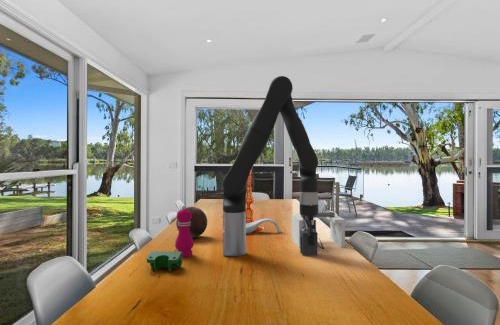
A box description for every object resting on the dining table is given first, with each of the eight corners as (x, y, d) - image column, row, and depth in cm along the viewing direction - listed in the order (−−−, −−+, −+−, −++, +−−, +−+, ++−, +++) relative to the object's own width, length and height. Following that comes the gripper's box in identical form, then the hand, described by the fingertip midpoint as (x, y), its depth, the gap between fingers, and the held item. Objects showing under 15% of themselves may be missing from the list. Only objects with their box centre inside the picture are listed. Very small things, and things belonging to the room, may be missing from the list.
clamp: (153, 282, 135) (140, 261, 133) (158, 273, 141) (146, 252, 139) (183, 271, 133) (171, 249, 131) (187, 262, 139) (176, 241, 137)
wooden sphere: (211, 235, 195) (210, 205, 195) (202, 241, 181) (202, 209, 180) (182, 234, 198) (182, 204, 198) (171, 240, 183) (171, 208, 183)
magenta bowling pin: (197, 254, 157) (196, 204, 157) (186, 258, 151) (186, 207, 150) (182, 252, 160) (181, 204, 160) (171, 256, 154) (171, 206, 153)
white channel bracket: (299, 248, 167) (299, 215, 167) (292, 239, 185) (292, 209, 185) (344, 247, 168) (345, 215, 168) (333, 238, 186) (333, 209, 186)
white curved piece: (233, 235, 196) (233, 221, 196) (233, 230, 208) (233, 217, 208) (280, 234, 197) (280, 220, 197) (278, 230, 209) (278, 217, 209)
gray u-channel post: (302, 255, 155) (302, 233, 155) (300, 252, 160) (300, 230, 160) (317, 255, 155) (317, 232, 155) (314, 252, 160) (314, 230, 160)
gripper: (296, 201, 164) (296, 239, 164) (303, 205, 150) (303, 247, 150) (314, 200, 164) (314, 239, 165) (322, 205, 150) (322, 246, 150)
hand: (309, 243), depth 157 cm, fingers open, 8 cm apart
